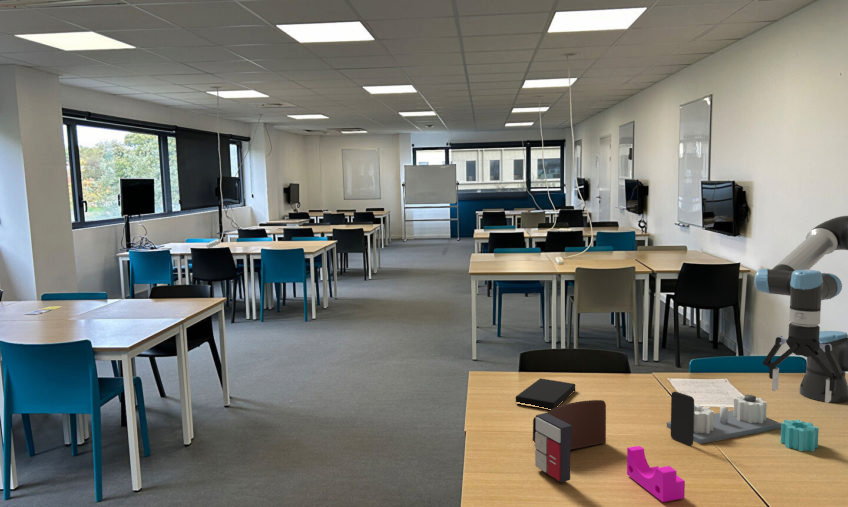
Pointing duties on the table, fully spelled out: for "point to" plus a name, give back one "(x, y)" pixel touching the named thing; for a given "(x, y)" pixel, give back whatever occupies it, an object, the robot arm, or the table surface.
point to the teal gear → (799, 435)
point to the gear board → (731, 420)
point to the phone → (682, 418)
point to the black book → (546, 393)
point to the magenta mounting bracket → (654, 476)
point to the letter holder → (582, 422)
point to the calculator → (553, 446)
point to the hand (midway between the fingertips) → (800, 395)
